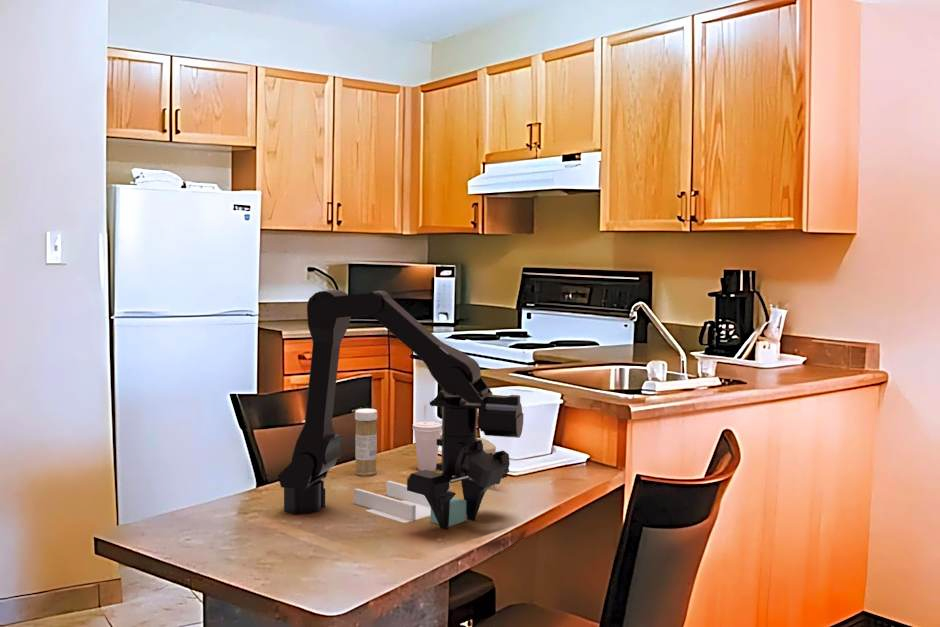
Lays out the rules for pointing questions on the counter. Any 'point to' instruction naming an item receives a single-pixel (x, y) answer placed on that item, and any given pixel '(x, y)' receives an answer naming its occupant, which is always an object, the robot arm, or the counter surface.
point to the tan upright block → (488, 451)
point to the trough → (394, 503)
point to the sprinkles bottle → (366, 442)
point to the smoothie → (427, 443)
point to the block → (454, 512)
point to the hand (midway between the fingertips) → (457, 526)
